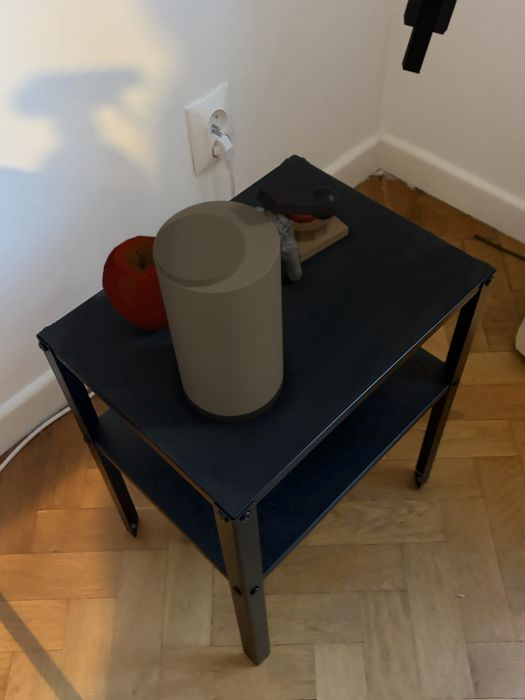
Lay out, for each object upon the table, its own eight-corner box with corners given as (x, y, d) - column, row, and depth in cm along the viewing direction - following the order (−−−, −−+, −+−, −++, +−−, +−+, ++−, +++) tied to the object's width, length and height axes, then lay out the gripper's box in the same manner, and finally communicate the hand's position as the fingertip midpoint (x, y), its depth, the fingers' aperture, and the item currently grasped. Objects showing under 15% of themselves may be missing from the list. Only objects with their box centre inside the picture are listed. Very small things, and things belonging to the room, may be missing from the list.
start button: (325, 213, 82) (325, 202, 80) (300, 228, 81) (300, 216, 79) (304, 197, 84) (305, 185, 82) (280, 210, 82) (279, 199, 81)
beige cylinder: (303, 385, 72) (306, 243, 56) (220, 441, 68) (198, 307, 52) (244, 323, 76) (230, 176, 60) (163, 372, 73) (127, 230, 57)
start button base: (348, 234, 84) (349, 215, 81) (300, 263, 81) (300, 244, 79) (304, 197, 87) (304, 178, 85) (257, 223, 85) (256, 204, 83)
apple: (179, 280, 80) (165, 206, 72) (210, 334, 76) (199, 262, 67) (105, 308, 78) (82, 236, 70) (133, 365, 74) (111, 296, 65)
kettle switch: (336, 226, 63) (351, 198, 62) (270, 225, 57) (284, 194, 56) (316, 208, 65) (330, 180, 63) (249, 206, 59) (262, 176, 57)
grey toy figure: (316, 269, 80) (318, 218, 74) (242, 335, 76) (238, 286, 69) (255, 231, 84) (251, 179, 78) (180, 291, 79) (171, 241, 73)
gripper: (595, -241, 54) (476, 77, 67) (427, -286, 54) (340, 42, 67) (623, -258, 48) (486, 97, 61) (433, -309, 48) (337, 58, 61)
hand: (410, 68), depth 64 cm, fingers closed
